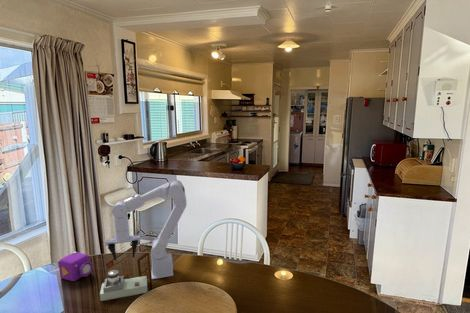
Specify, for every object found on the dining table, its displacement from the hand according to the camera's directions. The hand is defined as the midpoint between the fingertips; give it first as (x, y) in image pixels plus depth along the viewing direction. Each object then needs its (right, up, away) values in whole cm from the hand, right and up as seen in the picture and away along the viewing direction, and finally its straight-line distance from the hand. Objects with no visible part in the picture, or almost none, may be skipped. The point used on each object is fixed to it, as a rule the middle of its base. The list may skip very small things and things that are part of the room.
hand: (124, 257), depth 136 cm
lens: (-1, -8, -10) cm, 13 cm away
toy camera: (-22, -10, +3) cm, 24 cm away
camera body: (+3, -11, -9) cm, 14 cm away
